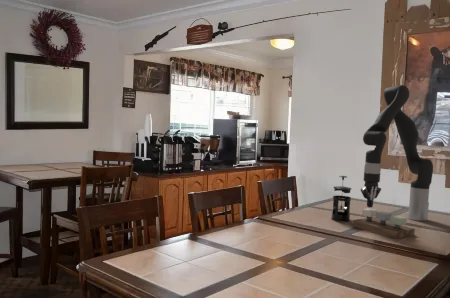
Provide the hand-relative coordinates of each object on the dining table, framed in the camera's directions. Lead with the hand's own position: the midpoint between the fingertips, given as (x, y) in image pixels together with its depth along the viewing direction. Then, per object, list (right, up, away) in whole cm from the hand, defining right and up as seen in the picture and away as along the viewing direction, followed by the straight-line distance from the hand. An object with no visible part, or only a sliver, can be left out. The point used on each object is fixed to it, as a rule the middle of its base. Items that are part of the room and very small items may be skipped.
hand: (369, 207), depth 206 cm
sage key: (+8, -8, -13) cm, 18 cm away
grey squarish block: (+4, -8, -6) cm, 11 cm away
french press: (-10, -9, +13) cm, 19 cm away
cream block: (0, -7, 0) cm, 7 cm away
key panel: (+4, -10, -6) cm, 13 cm away
